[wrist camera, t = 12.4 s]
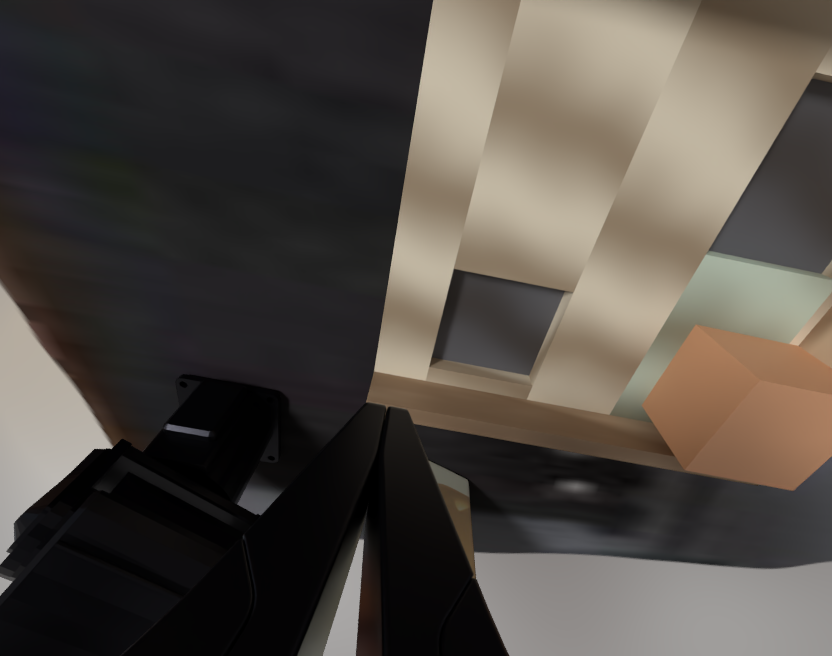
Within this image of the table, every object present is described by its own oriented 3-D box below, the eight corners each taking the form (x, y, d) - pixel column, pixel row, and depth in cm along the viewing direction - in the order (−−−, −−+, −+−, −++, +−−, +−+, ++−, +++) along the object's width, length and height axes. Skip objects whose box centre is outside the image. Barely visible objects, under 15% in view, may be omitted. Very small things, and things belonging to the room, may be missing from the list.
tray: (716, 435, 24) (757, 485, 21) (375, 372, 23) (364, 414, 20) (1057, 23, 14) (1246, -3, 10) (454, -121, 13) (459, -196, 10)
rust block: (731, 423, 22) (793, 490, 18) (641, 405, 22) (684, 470, 18) (798, 345, 19) (887, 406, 15) (695, 324, 19) (760, 380, 15)
